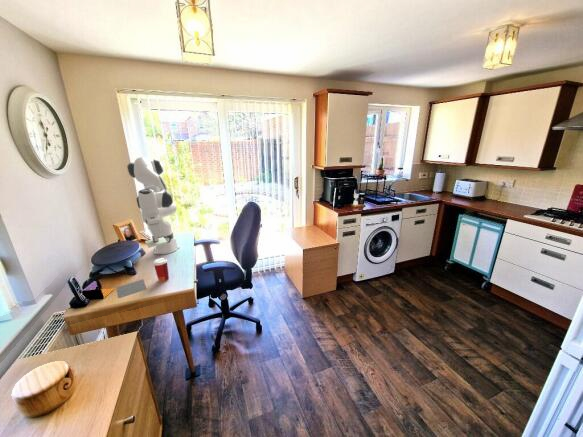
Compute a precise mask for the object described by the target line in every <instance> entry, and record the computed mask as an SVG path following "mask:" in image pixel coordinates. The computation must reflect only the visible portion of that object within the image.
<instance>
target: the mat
mask: <svg viewBox="0 0 583 437" xmlns="http://www.w3.org/2000/svg"><path fill="white" fill-rule="evenodd" d="M146 290H147V286H146V283H145V280H144V278H143V279H138V280H137V281H133V282H132V281H131V282H129V283H126V284H122V285H119V286H116V294H117V298H118V299H121V298H125V297H127V296H130V295H133V294H136V293H139V292H143V291H146Z"/></svg>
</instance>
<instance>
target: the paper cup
mask: <svg viewBox="0 0 583 437" xmlns="http://www.w3.org/2000/svg"><path fill="white" fill-rule="evenodd" d="M152 265H153V266H154V268H155V272H156V273H155V274H156V277H157V280H158V282H159V283H165V282H167V281H169V279H170V278H169V277H170V276H169V268H168V260H167V258H165V257H161V258H160V257H159V258H157V259H155V260H154V261H153V263H152Z"/></svg>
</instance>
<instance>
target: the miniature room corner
mask: <svg viewBox="0 0 583 437" xmlns="http://www.w3.org/2000/svg"><path fill="white" fill-rule="evenodd" d="M96 287H98V284H97V281H95V280H94V281H93V282H91V283H90V284H89V285H88V286H86V287H85V288H84V289H82V290H81V294H82V296H83V295H84V296H85V297H86V298H87V299H89V300H88V301H94V300H95V301H98V300H104V299H106V298H107V297H108V296H109V295H110V294H112V292H114V290H115V288H104V289H103V288H102V289H99V288H98V290H95V289H96Z"/></svg>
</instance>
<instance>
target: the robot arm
mask: <svg viewBox="0 0 583 437" xmlns="http://www.w3.org/2000/svg"><path fill="white" fill-rule="evenodd" d="M126 169H127V173H128V174H129V176H130V177H131V178H134V179H136V181H137V182H139V183H140V184H143V187H144V188H143V189H141V190H139V191H138V193H137V194H138V196H137V197H136V203H137V207H138V208H139V209H140V211H141V213H140V214H141V219H142V223H145V225H146V226H147V229H148V230H149V232H150V234H151V235H152V236H153V237H154V240H155V241H158V238H161V237H164V238H165V240H166V241H167V244H163V245H158V246H154V250H153V251H154V252H153V253H154V255H168V254H172V253H174V252H177V250H178V249H180V248H181V247H180V245H178V243H177V238H175V237H174V232H173V229H172V225H171V224H172V223H170V222H168V221H166V220H164V218H165V217H168V216H172V215H173V214H175V213H177V204H176V203H175V202H174V199H173V196H172V194H171V192H170V191H169V189H168V187H167V186H166V183H165V181H164V180H163V178H162V176H161V174H163V172H164V165H163V163H162V161H161V160H160V159H156V158H154V159H148V158H146V157H137V158H136V159H135V160H134V161H133V162H130V163H128V164H127V167H126ZM152 236H151V237H152Z"/></svg>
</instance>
